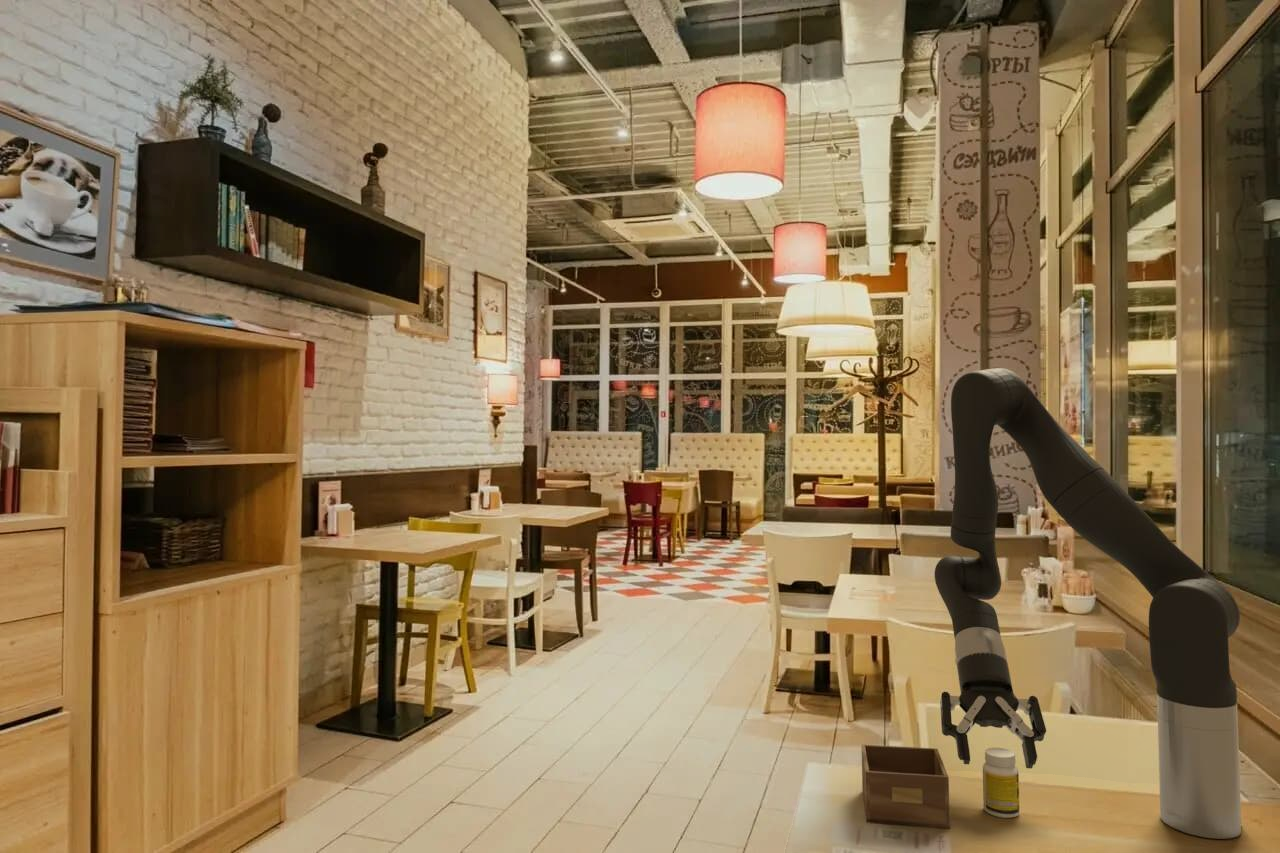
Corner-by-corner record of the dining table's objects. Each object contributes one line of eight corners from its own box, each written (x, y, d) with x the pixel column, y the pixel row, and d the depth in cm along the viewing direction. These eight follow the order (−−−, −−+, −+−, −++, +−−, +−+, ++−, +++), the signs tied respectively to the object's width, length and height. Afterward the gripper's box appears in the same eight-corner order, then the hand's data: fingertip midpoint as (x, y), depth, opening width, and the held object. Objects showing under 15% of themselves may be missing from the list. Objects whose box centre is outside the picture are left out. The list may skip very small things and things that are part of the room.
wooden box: (862, 790, 129) (861, 744, 129) (938, 795, 126) (937, 748, 127) (866, 823, 118) (865, 772, 118) (949, 829, 116) (948, 777, 116)
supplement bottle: (1025, 818, 118) (1023, 758, 119) (991, 819, 118) (989, 758, 119) (1011, 804, 123) (1009, 746, 123) (978, 804, 123) (977, 746, 123)
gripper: (936, 649, 132) (949, 749, 121) (1034, 652, 129) (1056, 755, 118) (932, 674, 137) (944, 772, 126) (1026, 677, 134) (1047, 779, 123)
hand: (998, 764), depth 122 cm, fingers open, 8 cm apart
